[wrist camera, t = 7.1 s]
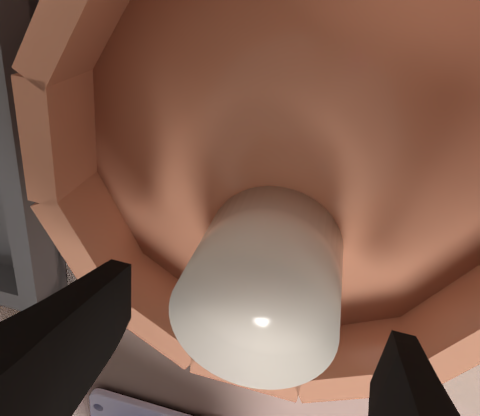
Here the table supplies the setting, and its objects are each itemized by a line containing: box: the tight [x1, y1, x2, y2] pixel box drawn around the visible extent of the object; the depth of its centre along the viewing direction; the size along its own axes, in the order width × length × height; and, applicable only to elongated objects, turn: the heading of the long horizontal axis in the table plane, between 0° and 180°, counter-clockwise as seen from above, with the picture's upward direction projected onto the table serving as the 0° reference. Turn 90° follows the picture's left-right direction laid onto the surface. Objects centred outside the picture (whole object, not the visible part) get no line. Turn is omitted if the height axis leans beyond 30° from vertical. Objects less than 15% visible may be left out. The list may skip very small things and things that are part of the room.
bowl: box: [11, 0, 480, 403], centre depth 13 cm, size 15×15×3 cm
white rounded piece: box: [169, 186, 344, 390], centre depth 13 cm, size 5×5×4 cm
